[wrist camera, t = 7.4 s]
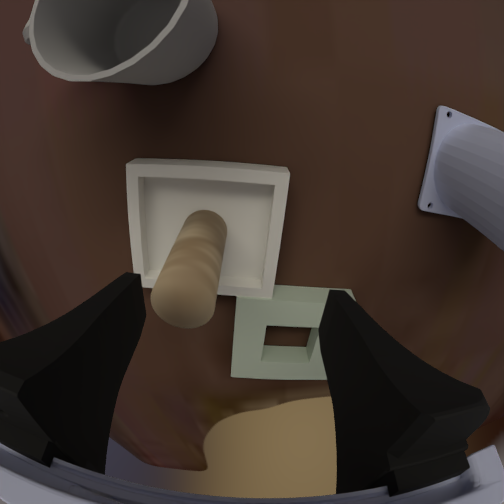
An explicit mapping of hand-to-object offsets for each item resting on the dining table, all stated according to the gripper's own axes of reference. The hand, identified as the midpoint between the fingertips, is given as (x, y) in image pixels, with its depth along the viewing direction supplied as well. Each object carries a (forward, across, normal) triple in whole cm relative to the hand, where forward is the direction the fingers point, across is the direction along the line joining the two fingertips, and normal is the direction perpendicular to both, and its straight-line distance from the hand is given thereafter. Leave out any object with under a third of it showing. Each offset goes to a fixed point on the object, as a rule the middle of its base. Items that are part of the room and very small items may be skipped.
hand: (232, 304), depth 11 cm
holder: (+10, -5, +10) cm, 15 cm away
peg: (+10, +2, +2) cm, 10 cm away
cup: (+10, +7, -12) cm, 17 cm away
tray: (+10, +2, +1) cm, 11 cm away
